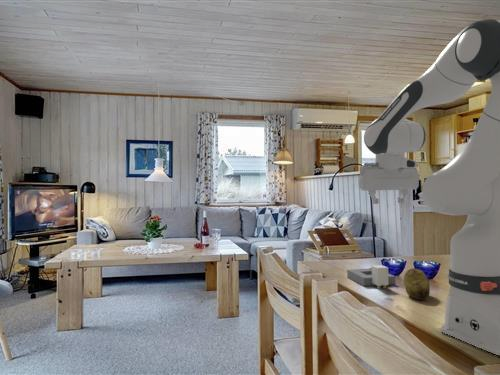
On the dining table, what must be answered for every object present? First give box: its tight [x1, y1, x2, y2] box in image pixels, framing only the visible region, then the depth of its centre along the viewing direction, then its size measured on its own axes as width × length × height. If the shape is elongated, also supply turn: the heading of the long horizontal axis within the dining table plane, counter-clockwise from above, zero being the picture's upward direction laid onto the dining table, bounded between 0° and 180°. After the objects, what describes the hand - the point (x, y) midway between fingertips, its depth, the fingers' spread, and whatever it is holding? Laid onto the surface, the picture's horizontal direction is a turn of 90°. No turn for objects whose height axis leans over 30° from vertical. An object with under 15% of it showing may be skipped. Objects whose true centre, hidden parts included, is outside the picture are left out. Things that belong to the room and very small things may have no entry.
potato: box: [403, 268, 431, 301], centre depth 120 cm, size 8×13×8 cm, turn 150°
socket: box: [346, 267, 396, 288], centre depth 140 cm, size 14×12×3 cm
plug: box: [371, 264, 389, 289], centre depth 131 cm, size 4×4×7 cm
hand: (388, 203), depth 127 cm, fingers open, 8 cm apart
